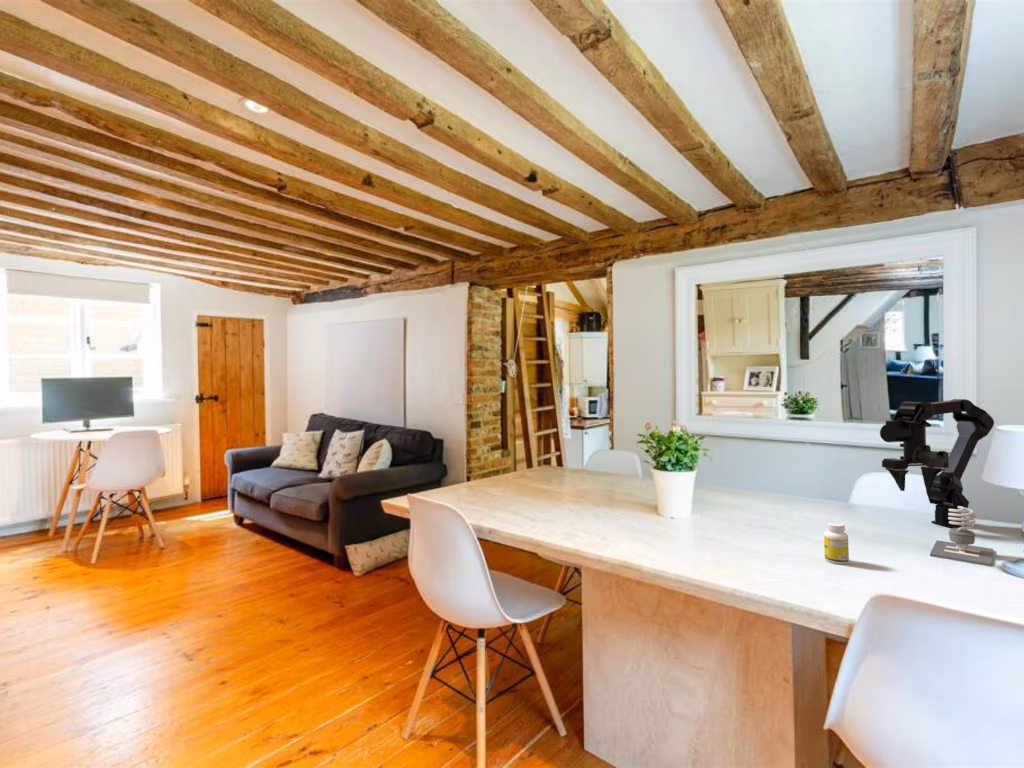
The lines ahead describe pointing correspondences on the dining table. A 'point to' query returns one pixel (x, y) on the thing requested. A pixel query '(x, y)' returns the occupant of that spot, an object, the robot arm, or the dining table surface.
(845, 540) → the supplement bottle
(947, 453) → the robot arm
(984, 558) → the board
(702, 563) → the dining table surface
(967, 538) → the light bulb
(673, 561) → the dining table surface
